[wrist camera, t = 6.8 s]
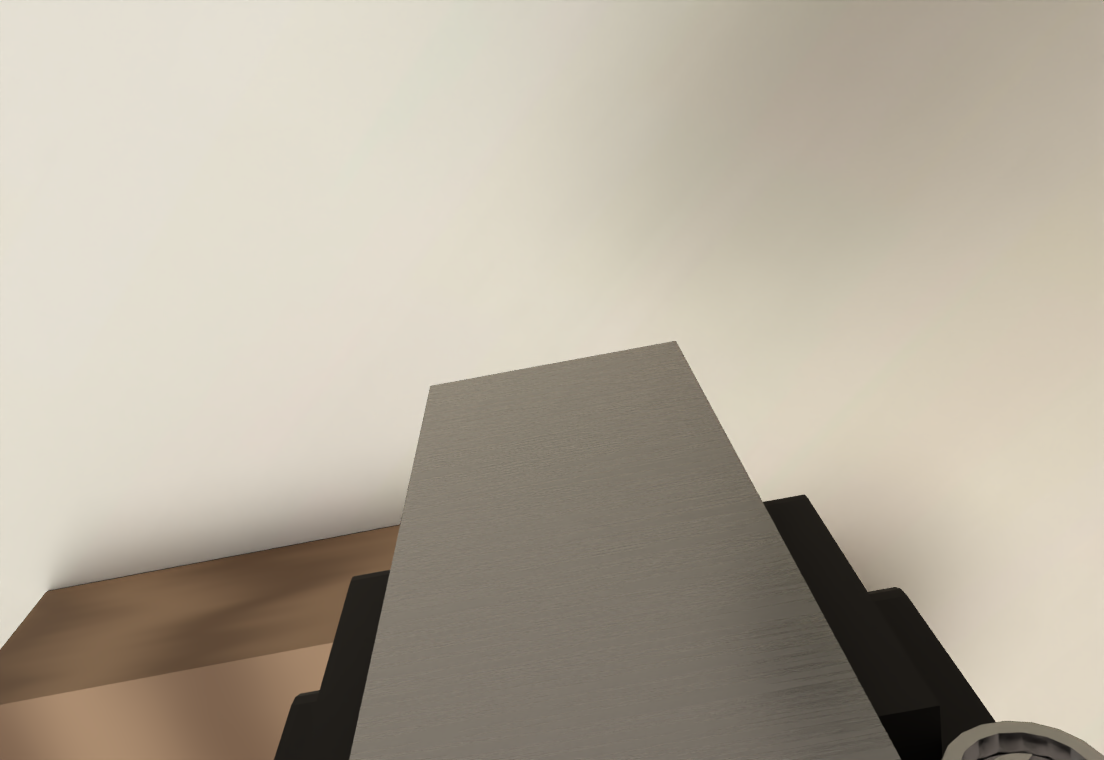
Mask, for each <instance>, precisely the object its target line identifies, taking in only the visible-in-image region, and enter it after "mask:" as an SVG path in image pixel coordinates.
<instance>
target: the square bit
mask: <svg viewBox="0 0 1104 760" xmlns="http://www.w3.org/2000/svg"><path fill="white" fill-rule="evenodd" d="M349 760H901V758H900V757H899V755H898V753H897V751H896V749H895V747H894V745H893V744H892V742H891V740H890V738H889V736H888V734H887V732H886V731H885V729H884V727H883V725H882V723H881V721H880V719H879V718H878V716H877V714H876V712H875V710H874V708H873V706H872V705H871V703H870V701H869V699H868V697H867V695H866V693H865V692H864V690H863V688H862V686H861V684H860V682H859V680H858V678H857V677H856V675H855V673H854V671H853V669H852V667H851V665H850V664H849V662H848V660H847V658H846V656H845V654H844V652H843V651H842V649H841V647H840V645H839V643H838V641H837V639H836V638H835V636H834V634H833V632H832V630H831V628H830V626H829V625H828V623H827V621H826V619H825V617H824V615H823V613H822V612H821V610H820V608H819V606H818V604H817V602H816V600H815V599H814V597H813V595H812V593H811V591H810V589H809V587H808V586H807V584H806V582H805V580H804V578H803V576H802V574H801V573H800V571H799V569H798V567H797V565H796V563H795V561H794V560H793V558H792V556H791V554H790V552H789V550H788V548H787V547H786V545H785V543H784V541H783V539H782V537H781V535H780V534H779V532H778V530H777V528H776V526H775V524H774V522H773V521H772V519H771V517H770V515H769V513H768V511H767V509H766V508H765V506H764V504H763V502H762V500H761V498H760V496H759V495H758V493H757V491H756V489H755V487H754V485H753V483H752V482H751V480H750V478H749V476H748V474H747V472H746V470H745V469H744V467H743V465H742V463H741V461H740V459H739V457H738V456H737V454H736V452H735V450H734V448H733V446H732V444H731V443H730V441H729V439H728V437H727V435H726V433H725V431H724V430H723V428H722V426H721V424H720V422H719V420H718V418H717V416H716V415H715V413H714V411H713V409H712V407H711V405H710V403H709V402H708V400H707V398H706V396H705V394H704V392H703V390H702V389H701V387H700V385H699V383H698V381H697V379H696V377H695V376H694V374H693V372H692V370H691V368H690V366H689V364H688V363H687V361H686V359H685V357H684V355H683V353H682V351H681V350H680V348H679V346H678V344H677V342H676V341H672V342H667V343H662V344H656V345H651V346H645V347H640V348H634V349H629V350H624V351H618V352H613V353H607V354H602V355H596V356H591V357H585V358H580V359H575V360H569V361H564V362H558V363H553V364H547V365H542V366H537V367H531V368H526V369H520V370H515V371H509V372H504V373H499V374H493V375H488V376H482V377H477V378H471V379H466V380H460V381H455V382H450V383H444V384H439V385H433V386H430V390H429V394H428V399H427V403H426V408H425V413H424V417H423V422H422V427H421V431H420V436H419V440H418V445H417V450H416V454H415V459H414V463H413V468H412V473H411V477H410V482H409V486H408V491H407V496H406V500H405V505H404V510H403V514H402V519H401V523H400V528H399V533H398V537H397V542H396V546H395V551H394V556H393V560H392V565H391V569H390V574H389V579H388V583H387V588H386V592H385V597H384V602H383V606H382V611H381V616H380V620H379V625H378V629H377V634H376V639H375V643H374V648H373V652H372V657H371V662H370V666H369V671H368V675H367V680H366V685H365V689H364V694H363V699H362V703H361V708H360V712H359V717H358V722H357V726H356V731H355V735H354V740H353V745H352V749H351V754H350V758H349Z"/></svg>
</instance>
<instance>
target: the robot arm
mask: <svg viewBox="0 0 1104 760" xmlns="http://www.w3.org/2000/svg"><path fill="white" fill-rule="evenodd" d="M763 504H764V506H765V508H766V509H767V511H768V513H769V515H770V517H771V519H772V521H773V522H774V524H775V526H776V528H777V530H778V532H779V534H780V535H781V537H782V539H783V541H784V543H785V545H786V547H787V548H788V550H789V552H790V554H791V556H792V558H793V560H794V561H795V563H796V565H797V567H798V569H799V571H800V573H801V574H802V576H803V578H804V580H805V582H806V584H807V586H808V587H809V589H810V591H811V593H812V595H813V597H814V599H815V600H816V602H817V604H818V606H819V608H820V610H821V612H822V613H823V615H824V617H825V619H826V621H827V623H828V625H829V626H830V628H831V630H832V632H833V634H834V636H835V638H836V639H837V641H838V643H839V645H840V647H841V649H842V651H843V652H844V654H845V656H846V658H847V660H848V662H849V664H850V665H851V667H852V669H853V671H854V673H855V675H856V677H857V678H858V680H859V682H860V684H861V686H862V688H863V690H864V692H865V693H866V695H867V697H868V699H869V701H870V703H871V705H872V706H873V708H874V710H875V712H876V714H877V716H878V718H879V719H880V721H881V723H882V725H883V727H884V729H885V731H886V732H887V734H888V736H889V738H890V740H891V742H892V744H893V745H894V747H895V749H896V751H897V753H898V755H899V757H900V758H901V760H1104V756H1103V755H1102V754H1100V753H1099V752H1098V751H1096V750H1095V749H1094V748H1092V747H1091V746H1090V745H1089V744H1087V743H1086V742H1085V741H1083V740H1081V739H1079V738H1077V737H1075V736H1072V735H1070V734H1068V733H1066V732H1064V731H1062V730H1059V729H1056V728H1052V727H1048V726H1044V725H1040V724H1036V723H1032V722H1015V721H1002V722H995V720H994V719H993V717H992V716H991V715H990V713H989V712H988V710H987V709H986V708H985V706H984V705H983V703H982V702H981V700H980V699H979V698H978V696H977V695H976V693H975V692H974V690H973V689H972V688H971V686H970V685H969V683H968V682H967V680H966V679H965V678H964V676H963V675H962V673H961V672H960V670H959V669H958V668H957V666H956V665H955V663H954V662H953V660H952V659H951V658H950V656H949V655H948V653H947V652H946V650H945V649H944V648H943V646H942V645H941V643H940V642H939V640H938V639H937V638H936V636H935V635H934V633H933V632H932V631H931V629H930V628H929V626H928V625H927V623H926V622H925V621H924V619H923V618H922V616H921V615H920V613H919V612H918V611H917V609H916V608H915V606H914V605H913V603H912V602H911V601H910V599H909V598H908V596H907V595H906V594H905V593H904V592H903V591H902V590H901V589H900V588H897V587H893V588H888V589H882V590H876V591H871V592H867V590H866V589H865V587H864V586H863V584H862V583H861V581H860V579H859V578H858V576H857V575H856V573H855V571H854V570H853V568H852V567H851V565H850V564H849V562H848V560H847V559H846V557H845V556H844V554H843V553H842V551H841V549H840V548H839V546H838V545H837V543H836V542H835V540H834V538H833V537H832V535H831V534H830V532H829V531H828V529H827V527H826V526H825V524H824V523H823V521H822V520H821V518H820V516H819V515H818V513H817V512H816V510H815V509H814V507H813V505H812V504H811V502H810V501H809V499H808V498H807V497H806V495H799V496H794V497H788V498H783V499H777V500H772V501H766V502H763ZM389 574H390V570H385V571H380V572H374V573H369V574H363V575H358V576H353V577H352V579H351V581H350V584H349V588H348V591H347V595H346V599H345V602H344V606H343V609H342V613H341V616H340V620H339V623H338V627H337V630H336V634H335V637H334V641H333V644H332V648H331V652H330V655H329V659H328V662H327V666H326V669H325V673H324V676H323V680H322V683H321V687H320V690H317V691H312V692H306V693H300V694H299V695H297V696H296V697H295V698H294V701H293V703H292V705H291V707H290V711H289V714H288V717H287V720H286V723H285V726H284V729H283V732H282V736H281V739H280V742H279V745H278V748H277V751H276V754H275V758H274V760H349V758H350V754H351V749H352V745H353V740H354V735H355V731H356V726H357V722H358V717H359V712H360V708H361V703H362V699H363V694H364V689H365V685H366V680H367V675H368V671H369V666H370V662H371V657H372V652H373V648H374V643H375V639H376V634H377V629H378V625H379V620H380V616H381V611H382V606H383V602H384V597H385V592H386V588H387V583H388V579H389Z"/></svg>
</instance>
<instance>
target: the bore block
mask: <svg viewBox="0 0 1104 760" xmlns="http://www.w3.org/2000/svg"><path fill="white" fill-rule="evenodd" d="M399 528H400V525H398V526H392V527H387V528H382V529H376V530H371V531H366V532H360V533H355V534H350V535H344V536H339V537H334V538H329V539H323V540H318V541H313V542H307V543H302V544H297V545H291V546H286V547H281V548H275V549H270V550H265V551H259V552H254V553H249V554H243V555H238V556H233V557H227V558H222V559H217V560H211V561H206V562H201V563H195V564H190V565H185V566H180V567H174V568H169V569H164V570H158V571H153V572H148V573H142V574H137V575H132V576H126V577H121V578H116V579H110V580H105V581H100V582H94V583H89V584H84V585H78V586H73V587H68V588H62V589H57V590H52V591H47V592H46V593H45V594H44V595H43V597H42V598H41V599H40V600H39V602H38V603H37V604H36V605H35V607H34V608H33V609H32V611H31V612H30V613H29V614H28V616H27V617H26V618H25V619H24V621H23V622H22V623H21V624H20V626H19V627H18V628H17V629H16V631H15V632H14V633H13V634H12V636H11V637H10V638H9V639H8V641H7V642H6V643H5V644H4V646H3V647H2V648H1V649H0V760H274V758H275V754H276V751H277V748H278V745H279V742H280V739H281V736H282V732H283V729H284V726H285V723H286V720H287V717H288V714H289V711H290V707H291V705H292V703H293V701H294V698H295V697H296V696H297V695H299V694H300V693H306V692H312V691H317V690H320V687H321V683H322V680H323V676H324V673H325V669H326V666H327V662H328V659H329V655H330V652H331V648H332V644H333V641H334V637H335V634H336V630H337V627H338V623H339V620H340V616H341V613H342V609H343V606H344V602H345V599H346V595H347V591H348V588H349V584H350V581H351V579H352V577H353V576H358V575H363V574H369V573H374V572H380V571H385V570H390V569H391V565H392V560H393V556H394V551H395V546H396V542H397V537H398V533H399Z"/></svg>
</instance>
